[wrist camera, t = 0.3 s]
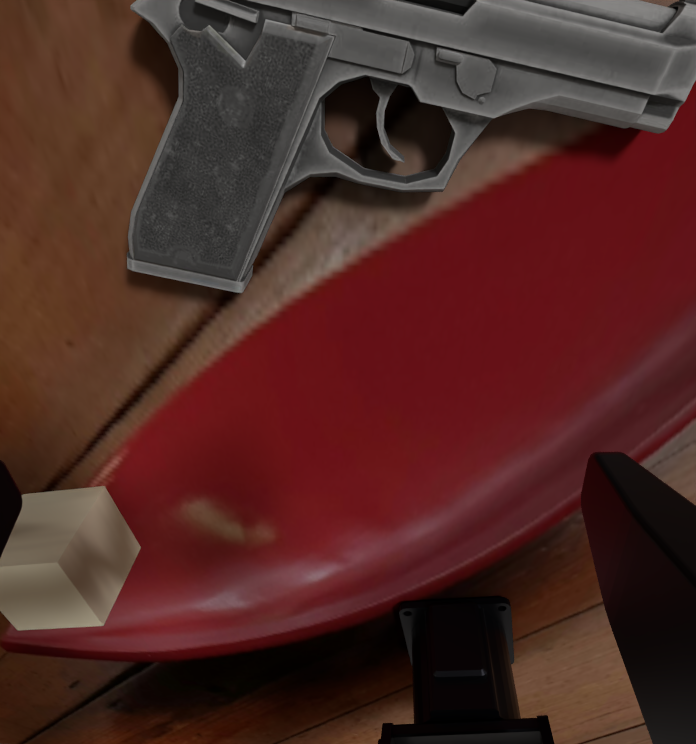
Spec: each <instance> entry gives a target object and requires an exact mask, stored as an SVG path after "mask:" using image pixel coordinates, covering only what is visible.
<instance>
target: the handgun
mask: <svg viewBox="0 0 696 744" xmlns="http://www.w3.org/2000/svg"><path fill="white" fill-rule="evenodd" d="M131 10H132V11H134V12H135V13H137V14H138V15H139V16H141V17H142V18H144V19H145V20H146V21H148V22H149V23H150V24H151V25H152V26H153V28H154V29H155V30H156V31H157V32H158V33H159V34H160V35H161V37H162V38H163V39H164V40H165V41H166V42H167V43H168V46H169V48H170V50H171V53H172V55H173V57H174V60H175V62H176V64H177V66H178V81H179V97H178V99H177V102H176V104H175V107H174V109H173V111H172V114H171V116H170V119H169V121H168V124H167V126H166V128H165V131H164V133H163V136H162V138H161V141H160V143H159V145H158V148H157V150H156V153H155V155H154V158H153V160H152V162H151V165H150V167H149V170H148V172H147V175H146V177H145V180H144V182H143V184H142V187H141V189H140V192H139V194H138V197H137V199H136V201H135V204H134V206H133V209H132V211H131V218H130V225H129V232H128V242H129V252H128V253H127V269H130V270H132V271H135V272H140V273H145V274H150V275H154V276H159V277H164V278H169V279H174V280H178V281H183V282H188V283H193V284H198V285H203V286H207V287H212V288H217V289H222V290H227V291H231V292H237V293H242V292H243V291H244V289H245V288H246V286H247V284H248V282H249V280H250V278H251V277H252V271H253V265H252V264H253V262H254V260H255V258H256V257H257V255H258V252H259V250H260V248H261V246H262V243H263V241H264V239H265V236H266V234H267V232H268V230H269V227H270V225H271V223H272V220H273V218H274V216H275V214H276V211H277V209H278V207H279V205H280V202H281V200H282V198H283V195H284V193H285V192H287V191H288V190H290V189H291V188H293V187H295V186H296V185H298V184H300V183H301V182H303V181H304V180H306V179H308V178H309V177H338V178H341V179H345V180H348V181H351V182H355V183H358V184H362V185H367V186H372V187H377V188H382V189H387V190H392V191H397V192H443V191H444V189H445V187H446V185H447V183H448V181H449V180H450V178H451V176H452V174H453V172H454V170H455V168H456V166H457V165H458V163H459V161H460V159H461V158H462V157H463V155H464V154H465V153H466V152H467V150H468V149H469V148H470V146H471V145H472V144H473V142H474V141H475V140H476V138H477V137H478V136H479V135H480V133H481V132H482V131H483V130H484V128H485V127H486V126H487V125H488V123H489V122H490V121H491V120H492V119H493V118H496V117H499V116H502V115H506V114H509V113H513V112H517V111H521V110H525V109H537V110H546V111H551V112H555V113H559V114H564V115H568V116H573V117H577V118H581V119H586V120H590V121H594V122H599V123H603V124H608V125H612V126H616V127H621V128H628V127H632V128H636V129H641V130H645V131H649V132H654V133H662V132H664V131H666V130H667V129H668V127H669V125H670V124H671V122H672V121H673V119H674V117H675V115H676V113H677V111H678V109H679V107H680V106H681V105H682V104H683V103H684V102H685V100H686V98H687V96H688V94H689V92H690V90H691V88H692V86H693V84H694V82H695V80H696V0H679V2H675V3H673V4H671V5H670V6H668V7H664V6H660V5H656V4H652V3H648V2H644V1H639V0H137V1H135V2H134V3H133V4H132V5H131ZM367 76H368V77H369V78H370V81H371V85H372V88H373V90H374V91H375V92H376V93H377V95H378V96H379V97H380V99H379V103H378V107H377V112H376V117H377V129H378V133H379V136H380V140H381V144H382V145H383V146H384V148H385V149H386V150H387V152H388V153H389V154H390V156H391V157H392V158H393V159H394V160H398V161H402V162H404V156H403V155H402V154H401V153H400V152H398V151H397V150H396V149H395V148H394V147H393V146H392V145H391V144H390V142H389V139H388V137H387V134H386V131H385V128H384V115H385V108H386V106H387V103H388V100H389V97H390V96H391V94H392V93H393V91H394V90H395V88H396V87H397V85H402V86H405V87H410V88H411V89H412V90H413V92H414V94H415V95H416V97H417V99H418V100H419V102H422V103H427V104H431V105H436V106H440V107H442V108H443V110H444V112H445V114H446V116H447V118H448V120H449V122H450V124H451V125H452V131H451V135H450V139H449V143H448V146H447V150H446V153H445V154H444V156H443V157H442V159H441V160H440V162H439V163H438V165H437V166H436V168H435V169H431V170H427V171H423V172H419V173H415V174H411V175H407V176H403V175H398V174H392V173H387V172H382V171H377V170H372V169H367V168H363V167H362V166H360V165H359V164H358V163H356V162H355V161H353V160H352V159H350V158H349V157H347V156H346V155H345V154H343V153H342V152H340V151H339V150H337V149H336V148H334V147H333V146H332V144H331V142H330V140H329V138H328V135H327V133H326V131H325V129H324V126H325V98H326V97H327V96H328V95H329V94H331V93H332V92H333V91H334V90H335V89H337V88H338V87H339V86H340V85H341V84H344V83H348V82H351V81H354V80H357V79H361V78H364V77H367Z"/></svg>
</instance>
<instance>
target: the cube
mask: <svg viewBox="0 0 696 744" xmlns="http://www.w3.org/2000/svg"><path fill="white" fill-rule="evenodd" d="M140 549H141V547H140V545H139V543H138V542H137V540H136V538H135V537H134V535H133V533H132V531H131V530H130V528H129V526H128V525H127V523H126V521H125V520H124V518H123V516H122V515H121V513H120V511H119V510H118V508H117V506H116V504H115V503H114V501H113V499H112V498H111V496H110V494H109V493H108V491H107V489H106V488H105V486H100V487H90V488H80V489H70V490H60V491H50V492H40V493H30V494H23V495H22V509H21V512H20V514H19V516H18V519H17V521H16V523H15V526H14V528H13V530H12V532H11V535H10V537H9V539H8V542H7V544H6V546H5V548H4V551H3V553H2V555H1V558H0V611H1V612H2V613H3V615H4V616H5V617H6V618H7V619H8V620H9V621H10V623H11V624H12V625H13V626H14V627H15V628H16V629H17V630H36V629H54V628H73V627H91V626H104V624H105V622H106V620H107V618H108V615H109V613H110V611H111V609H112V607H113V605H114V603H115V601H116V599H117V597H118V595H119V592H120V590H121V588H122V586H123V584H124V582H125V580H126V578H127V576H128V574H129V572H130V570H131V567H132V565H133V563H134V561H135V559H136V557H137V555H138V553H139V551H140Z"/></svg>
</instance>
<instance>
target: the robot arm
mask: <svg viewBox="0 0 696 744" xmlns="http://www.w3.org/2000/svg"><path fill="white" fill-rule="evenodd" d="M581 508H582V513H583V518H584V522H585V526H586V530H587V535H588V539H589V543H590V547H591V552H592V556H593V560H594V564H595V569H596V573H597V577H598V582H599V586H600V590H601V594H602V598H603V602H604V606H605V610H606V613H607V616H608V619H609V622H610V625H611V628H612V631H613V634H614V637H615V639H616V642H617V645H618V648H619V651H620V653H621V656H622V659H623V662H624V664H625V667H626V670H627V673H628V676H629V678H630V681H631V684H632V687H633V690H634V692H635V695H636V698H637V701H638V703H639V706H640V709H641V712H642V715H643V717H644V720H645V723H646V726H647V729H648V731H649V734H650V737H651V740H652V742H653V744H696V505H694V504H693V503H691V502H690V501H689V500H687V499H686V498H685V497H683V496H682V495H681V494H679V493H678V492H676V491H675V490H674V489H672V488H671V487H670V486H668V485H667V484H666V483H664V482H663V481H661V480H660V479H659V478H657V477H656V476H655V475H653V474H652V473H650V472H649V471H648V470H646V469H645V468H644V467H642V466H641V465H640V464H638V463H637V462H635V461H634V460H633V459H631V458H630V457H629V456H627V455H626V454H624V453H621V452H595V453H593V454H591V455H590V457H589V459H588V463H587V468H586V473H585V478H584V483H583V487H582V492H581ZM21 509H22V495H21V493H20V491H19V489H18V487H17V485H16V483H15V481H14V480H13V478H12V476H11V474H10V472H9V470H8V469H7V467H6V465H5V464H4V462H2V461H1V460H0V558H1V555H2V553H3V551H4V548H5V546H6V544H7V542H8V539H9V537H10V535H11V532H12V530H13V528H14V526H15V523H16V521H17V519H18V516H19V514H20V512H21ZM399 615H400V619H401V624H402V628H403V632H404V636H405V640H406V644H407V648H408V652H409V657H410V661H411V665H412V667H413V702H414V724H401V725H393V723H383V725H382V734H381V739H379V740H378V744H554V741H553V736H552V732H551V728H550V724H549V720H548V716H547V715H543V716H537V718H523V719H521V717H520V711H519V706H518V700H517V695H516V689H515V684H514V678H513V673H512V667H511V664H513V663H514V650H513V634H512V618H511V606H510V602H509V600H508V599H507V598H504V597H495V598H477V599H459V600H441V601H423V602H406V603H402V604H401V605H400V606H399Z"/></svg>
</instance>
